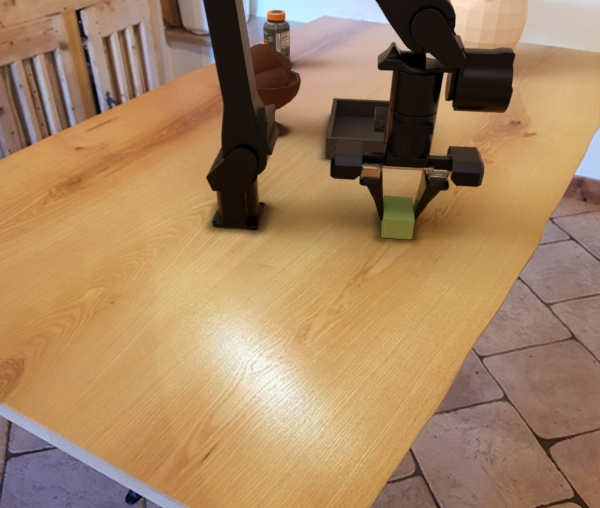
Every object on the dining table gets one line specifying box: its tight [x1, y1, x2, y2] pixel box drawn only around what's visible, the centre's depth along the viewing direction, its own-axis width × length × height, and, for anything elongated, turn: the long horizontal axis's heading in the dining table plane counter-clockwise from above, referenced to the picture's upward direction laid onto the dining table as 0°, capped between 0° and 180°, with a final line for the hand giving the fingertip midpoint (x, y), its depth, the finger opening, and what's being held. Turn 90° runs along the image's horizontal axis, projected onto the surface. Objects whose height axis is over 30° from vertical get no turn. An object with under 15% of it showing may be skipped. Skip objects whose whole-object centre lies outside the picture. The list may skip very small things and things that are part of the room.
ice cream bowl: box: [250, 43, 302, 137], centre depth 94 cm, size 11×11×15 cm
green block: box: [381, 195, 416, 240], centre depth 75 cm, size 6×4×3 cm, turn 174°
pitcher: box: [450, 0, 528, 51], centre depth 119 cm, size 19×18×25 cm
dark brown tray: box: [324, 97, 390, 160], centre depth 96 cm, size 18×15×4 cm
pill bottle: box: [262, 9, 291, 61], centre depth 123 cm, size 6×6×11 cm
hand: (397, 219), depth 75 cm, fingers closed on green block, 4 cm apart
